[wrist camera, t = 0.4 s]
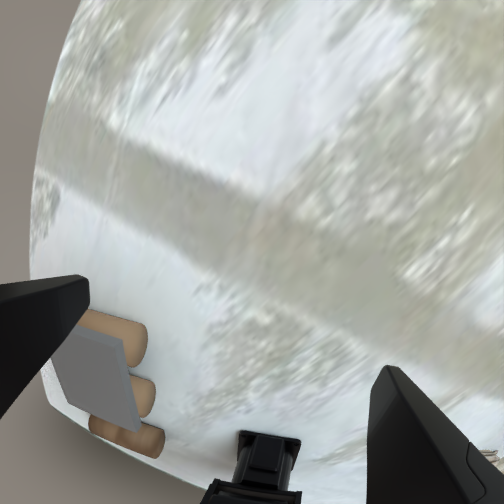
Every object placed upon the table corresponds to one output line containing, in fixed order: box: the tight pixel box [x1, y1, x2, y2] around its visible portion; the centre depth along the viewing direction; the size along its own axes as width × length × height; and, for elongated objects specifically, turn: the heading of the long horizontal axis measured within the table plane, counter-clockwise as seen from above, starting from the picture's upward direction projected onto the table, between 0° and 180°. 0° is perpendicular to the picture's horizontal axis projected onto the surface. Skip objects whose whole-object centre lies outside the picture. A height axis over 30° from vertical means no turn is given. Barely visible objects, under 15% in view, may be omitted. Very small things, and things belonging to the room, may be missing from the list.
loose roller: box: [88, 414, 165, 459], centre depth 31 cm, size 4×9×4 cm, turn 86°
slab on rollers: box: [51, 309, 156, 433], centre depth 26 cm, size 11×9×5 cm
